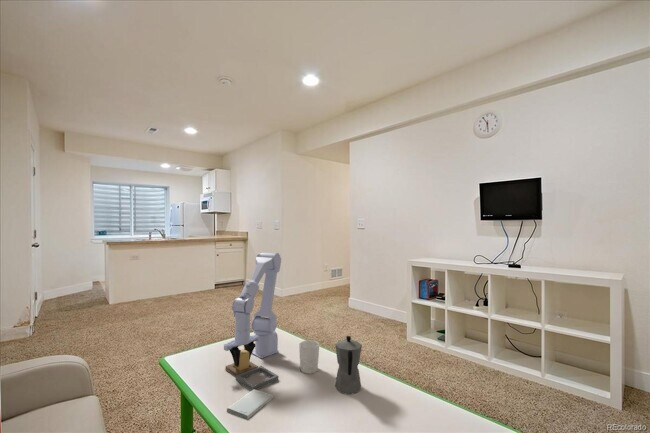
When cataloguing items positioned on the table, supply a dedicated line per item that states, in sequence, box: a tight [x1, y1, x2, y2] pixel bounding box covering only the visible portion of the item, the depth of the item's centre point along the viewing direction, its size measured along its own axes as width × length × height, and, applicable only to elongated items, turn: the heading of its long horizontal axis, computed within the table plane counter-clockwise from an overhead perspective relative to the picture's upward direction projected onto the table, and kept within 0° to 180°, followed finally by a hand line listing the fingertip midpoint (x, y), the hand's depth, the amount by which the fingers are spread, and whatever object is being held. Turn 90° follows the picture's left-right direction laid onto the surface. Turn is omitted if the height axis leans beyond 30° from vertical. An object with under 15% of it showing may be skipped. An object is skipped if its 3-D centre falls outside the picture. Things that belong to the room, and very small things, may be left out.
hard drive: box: [226, 389, 273, 420], centre depth 99 cm, size 2×8×12 cm
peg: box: [235, 348, 249, 371], centre depth 121 cm, size 4×4×7 cm
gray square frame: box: [235, 365, 279, 391], centre depth 114 cm, size 11×11×2 cm
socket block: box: [224, 361, 259, 378], centre depth 121 cm, size 9×9×2 cm
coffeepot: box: [334, 335, 363, 395], centre depth 109 cm, size 15×9×18 cm, turn 179°
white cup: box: [298, 340, 320, 374], centre depth 123 cm, size 8×8×10 cm
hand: (241, 363), depth 121 cm, fingers closed on peg, 4 cm apart
